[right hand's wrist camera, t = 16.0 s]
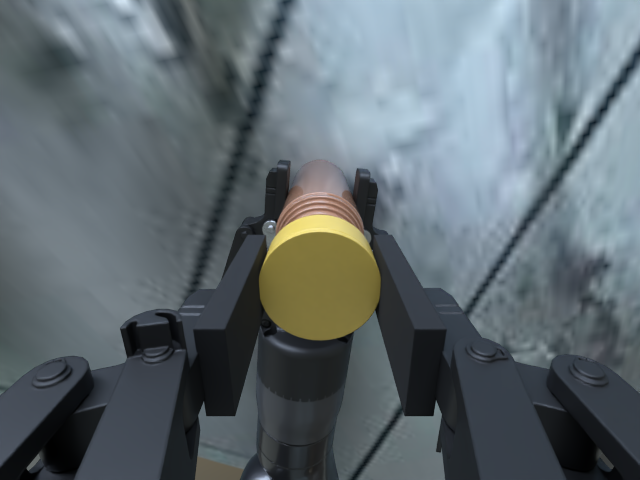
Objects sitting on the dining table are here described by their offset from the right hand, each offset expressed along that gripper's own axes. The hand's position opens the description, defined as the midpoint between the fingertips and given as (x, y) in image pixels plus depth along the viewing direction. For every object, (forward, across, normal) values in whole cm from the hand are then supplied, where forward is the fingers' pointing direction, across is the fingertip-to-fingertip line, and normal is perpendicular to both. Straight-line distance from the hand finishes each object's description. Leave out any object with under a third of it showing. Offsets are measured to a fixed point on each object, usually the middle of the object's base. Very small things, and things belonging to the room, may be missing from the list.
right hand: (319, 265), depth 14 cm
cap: (-2, 0, 0) cm, 2 cm away
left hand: (+10, 0, -3) cm, 10 cm away
